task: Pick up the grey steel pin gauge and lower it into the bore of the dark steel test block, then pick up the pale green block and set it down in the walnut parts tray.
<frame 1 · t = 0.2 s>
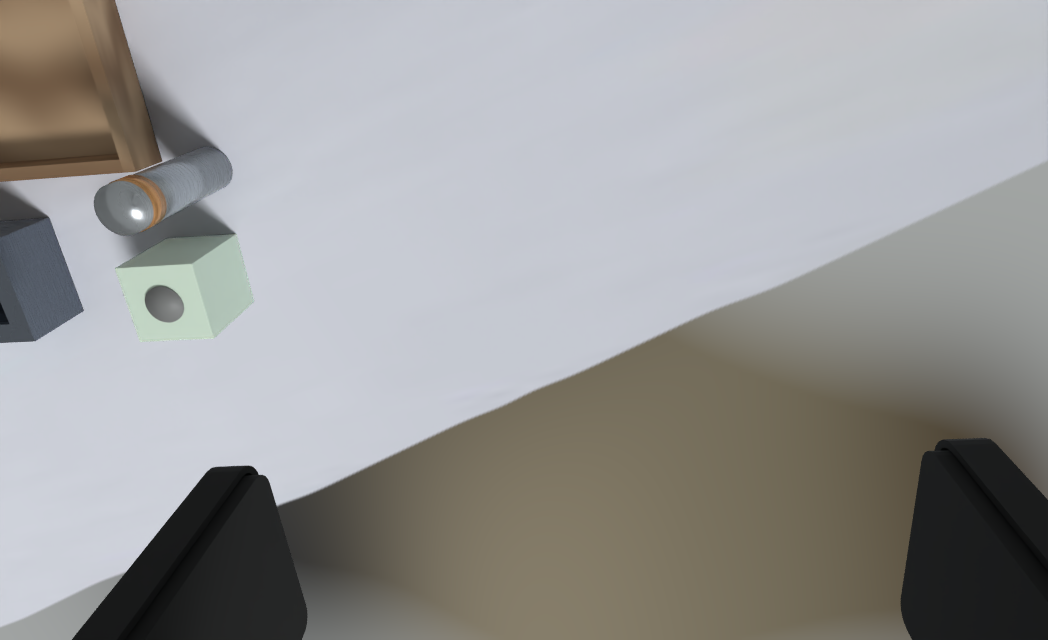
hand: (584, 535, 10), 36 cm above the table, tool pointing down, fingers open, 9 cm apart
pale green block: (211, 270, 49), on the table
test block: (21, 268, 50), on the table
tray: (9, 70, 45), on the table
pin gauge: (211, 168, 46), on the table
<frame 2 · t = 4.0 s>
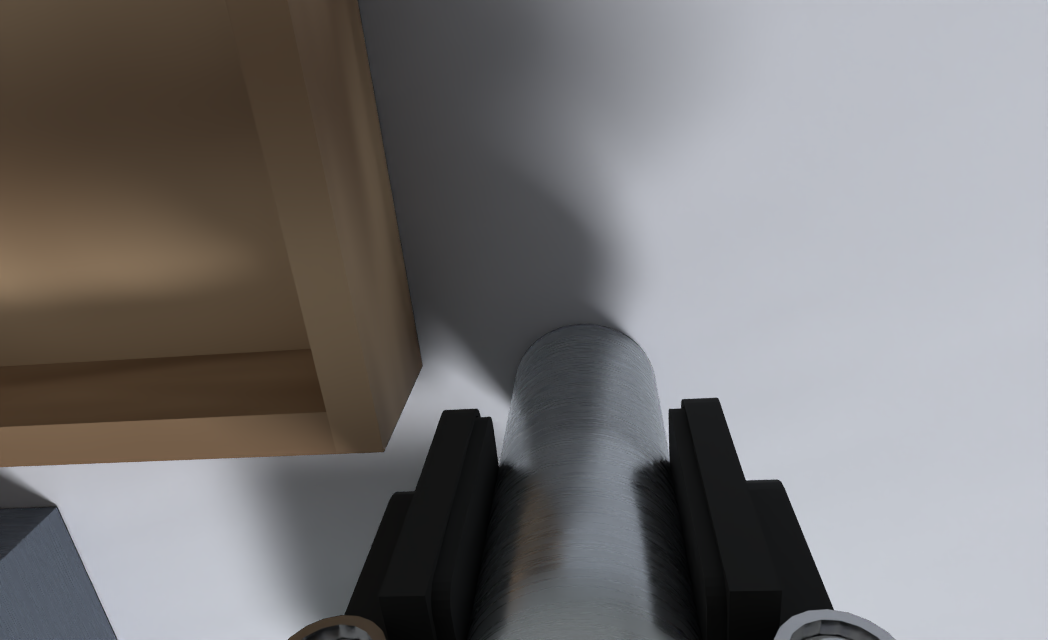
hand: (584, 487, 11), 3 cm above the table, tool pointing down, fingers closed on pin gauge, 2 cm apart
pin gauge: (584, 387, 14), on the table, touching gripper
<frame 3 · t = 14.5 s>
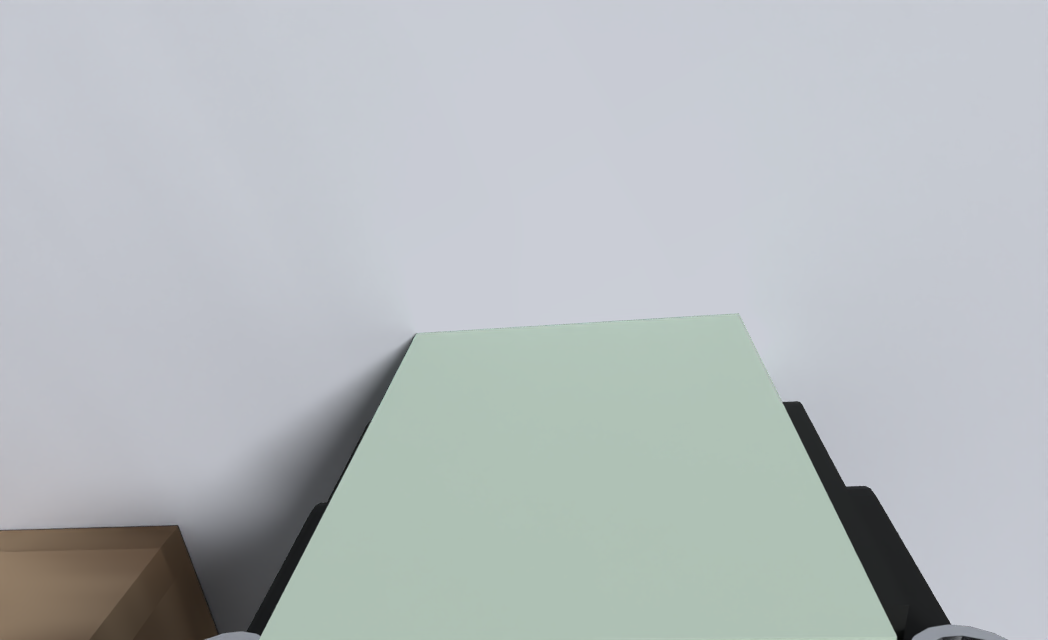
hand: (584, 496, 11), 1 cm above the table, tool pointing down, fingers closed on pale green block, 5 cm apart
pale green block: (584, 458, 12), on the table, touching gripper
when the fingers open (3 cm above the table, at t = 20.6 s): pale green block drops 1 cm, resting on tray.
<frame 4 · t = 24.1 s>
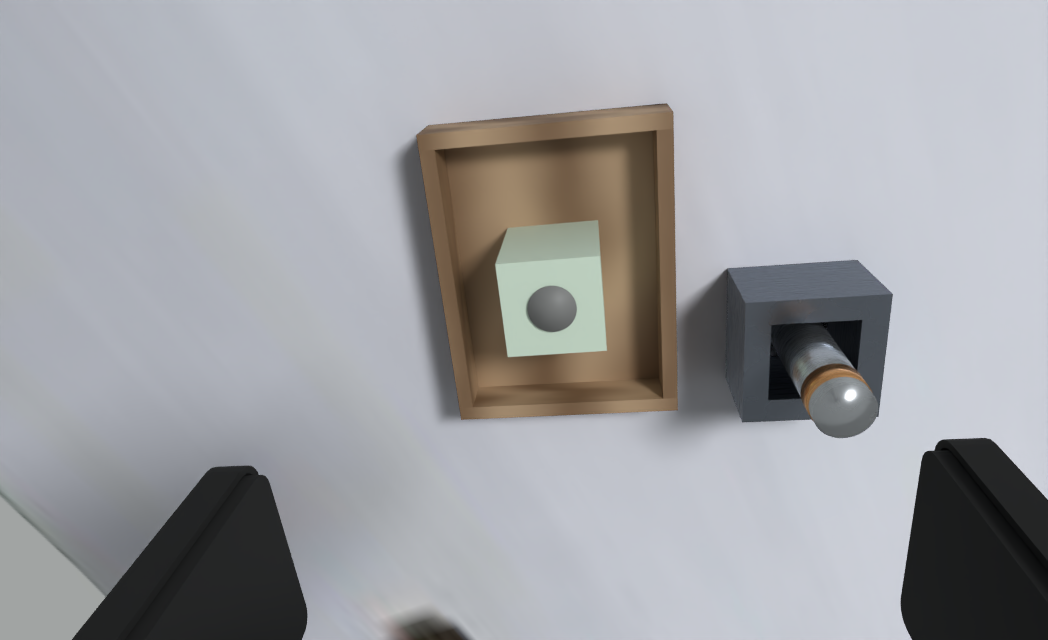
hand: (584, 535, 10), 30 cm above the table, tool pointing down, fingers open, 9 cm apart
pale green block: (556, 266, 40), point 1 cm above the table, touching tray
test block: (788, 321, 41), on the table
tray: (558, 263, 41), on the table
pin gauge: (788, 320, 41), resting in test block
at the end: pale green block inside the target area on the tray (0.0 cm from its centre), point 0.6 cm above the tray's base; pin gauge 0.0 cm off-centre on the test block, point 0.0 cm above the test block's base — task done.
